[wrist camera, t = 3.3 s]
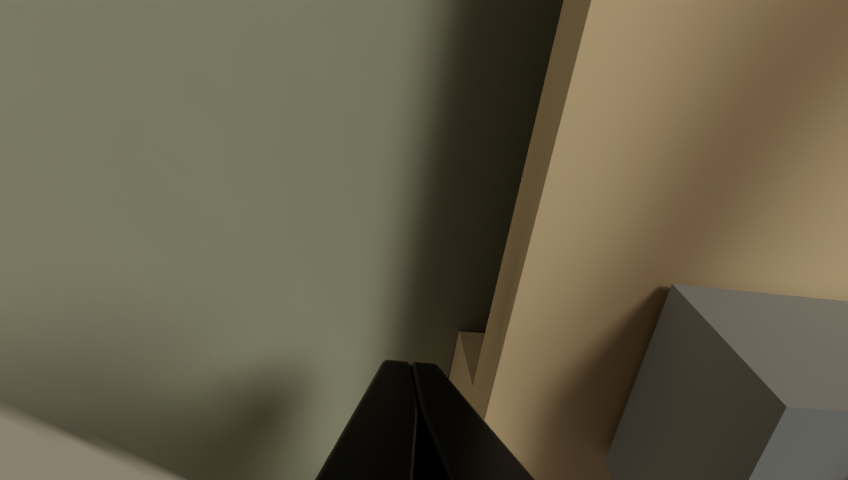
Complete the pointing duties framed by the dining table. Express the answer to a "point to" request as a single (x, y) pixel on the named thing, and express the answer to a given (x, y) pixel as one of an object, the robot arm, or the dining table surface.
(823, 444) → the stud finder
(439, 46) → the dining table surface
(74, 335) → the dining table surface
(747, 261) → the wooden board
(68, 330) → the dining table surface
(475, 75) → the dining table surface
